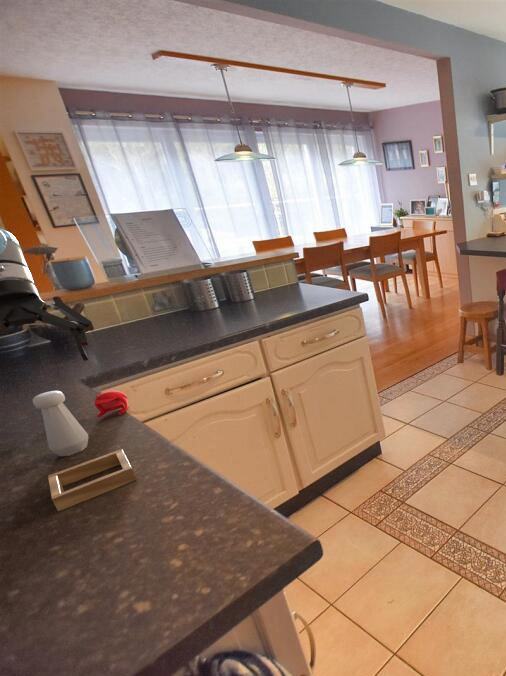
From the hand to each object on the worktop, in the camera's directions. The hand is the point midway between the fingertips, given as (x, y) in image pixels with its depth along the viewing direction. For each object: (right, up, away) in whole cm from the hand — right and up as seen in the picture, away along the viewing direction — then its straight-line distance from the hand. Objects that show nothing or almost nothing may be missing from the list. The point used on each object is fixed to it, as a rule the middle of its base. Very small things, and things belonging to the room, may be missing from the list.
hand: (40, 367), depth 90 cm
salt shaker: (+8, -17, -1) cm, 19 cm away
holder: (+24, -20, -13) cm, 33 cm away
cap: (+3, -12, +14) cm, 19 cm away
